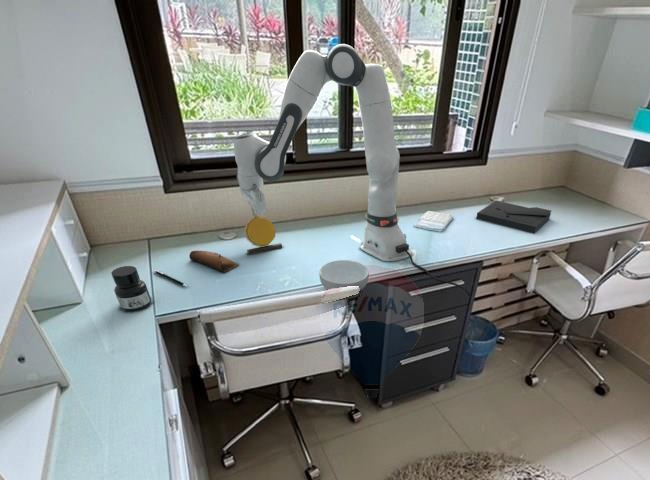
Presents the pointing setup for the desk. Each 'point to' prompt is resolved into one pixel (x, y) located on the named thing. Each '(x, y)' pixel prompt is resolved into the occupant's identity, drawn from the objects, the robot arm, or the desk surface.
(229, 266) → the sunglasses case
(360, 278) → the cereal bowl
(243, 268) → the desk surface
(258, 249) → the strip
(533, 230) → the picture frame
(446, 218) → the white folded towel
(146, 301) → the ink bottle
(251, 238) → the glazed bowl
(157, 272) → the pen
